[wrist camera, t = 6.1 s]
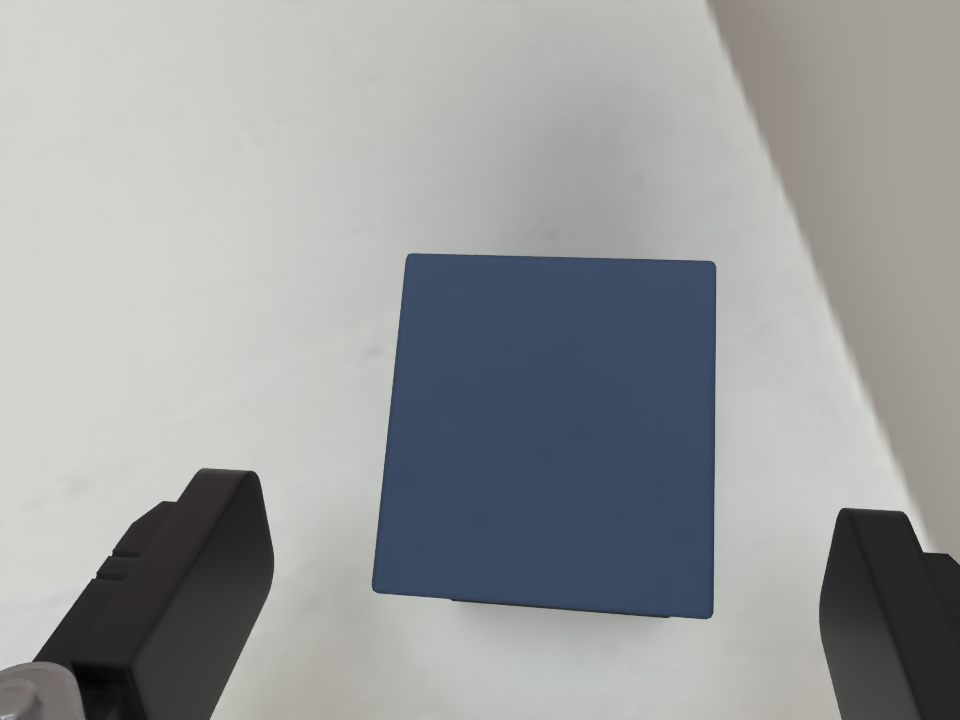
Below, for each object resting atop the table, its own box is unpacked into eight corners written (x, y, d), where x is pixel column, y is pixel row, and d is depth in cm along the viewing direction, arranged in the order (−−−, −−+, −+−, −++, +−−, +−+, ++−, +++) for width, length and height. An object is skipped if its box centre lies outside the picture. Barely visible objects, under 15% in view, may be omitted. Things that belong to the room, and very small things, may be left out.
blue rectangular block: (671, 390, 20) (721, 255, 12) (667, 617, 19) (718, 625, 11) (473, 381, 21) (402, 247, 13) (456, 601, 19) (365, 596, 12)
